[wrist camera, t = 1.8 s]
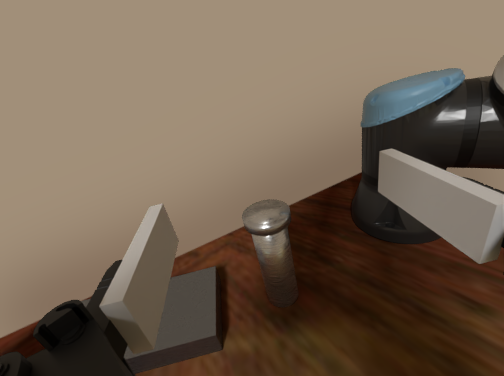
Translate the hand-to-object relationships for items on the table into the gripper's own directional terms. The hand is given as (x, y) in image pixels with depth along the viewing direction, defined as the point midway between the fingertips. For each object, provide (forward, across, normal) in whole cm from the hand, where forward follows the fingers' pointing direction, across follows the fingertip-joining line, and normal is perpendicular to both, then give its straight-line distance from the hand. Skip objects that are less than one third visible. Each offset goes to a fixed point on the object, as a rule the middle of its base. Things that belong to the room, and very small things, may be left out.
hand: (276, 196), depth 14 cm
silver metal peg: (+11, 0, -22) cm, 25 cm away
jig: (+11, -20, -22) cm, 32 cm away
